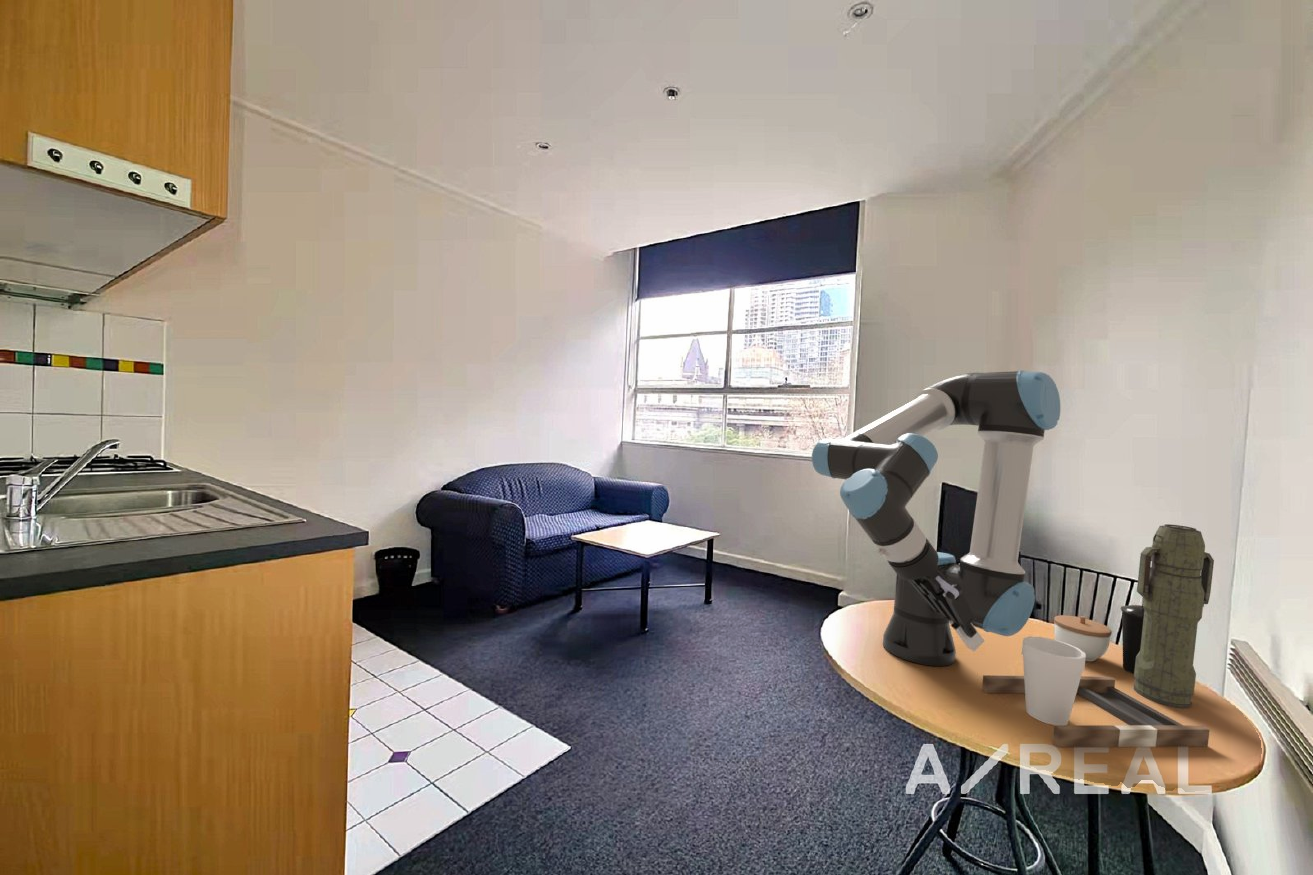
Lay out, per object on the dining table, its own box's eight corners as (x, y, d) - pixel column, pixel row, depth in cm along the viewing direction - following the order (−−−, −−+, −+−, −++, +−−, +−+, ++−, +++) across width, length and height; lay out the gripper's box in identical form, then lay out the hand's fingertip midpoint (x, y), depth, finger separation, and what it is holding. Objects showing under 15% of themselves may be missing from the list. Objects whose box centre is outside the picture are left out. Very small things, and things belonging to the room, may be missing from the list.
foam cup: (1060, 735, 94) (1068, 662, 93) (1005, 708, 102) (1012, 640, 101) (1089, 724, 98) (1096, 653, 98) (1034, 698, 106) (1040, 633, 106)
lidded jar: (1087, 648, 134) (1091, 610, 133) (1120, 668, 123) (1124, 628, 122) (1041, 643, 135) (1045, 606, 134) (1069, 663, 124) (1074, 623, 123)
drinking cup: (1107, 666, 124) (1116, 579, 123) (1126, 661, 127) (1135, 577, 126) (1148, 682, 117) (1157, 590, 116) (1167, 677, 120) (1177, 588, 119)
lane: (1058, 747, 90) (1060, 729, 90) (981, 689, 109) (983, 675, 108) (1207, 746, 93) (1209, 729, 93) (1108, 691, 111) (1109, 676, 111)
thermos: (1114, 682, 115) (1131, 520, 114) (1172, 688, 115) (1190, 524, 113) (1149, 705, 107) (1167, 529, 105) (1212, 711, 106) (1232, 533, 104)
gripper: (867, 552, 98) (935, 642, 103) (916, 576, 85) (991, 677, 90) (897, 525, 99) (963, 615, 103) (949, 544, 86) (1022, 646, 91)
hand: (976, 644), depth 97 cm, fingers closed
